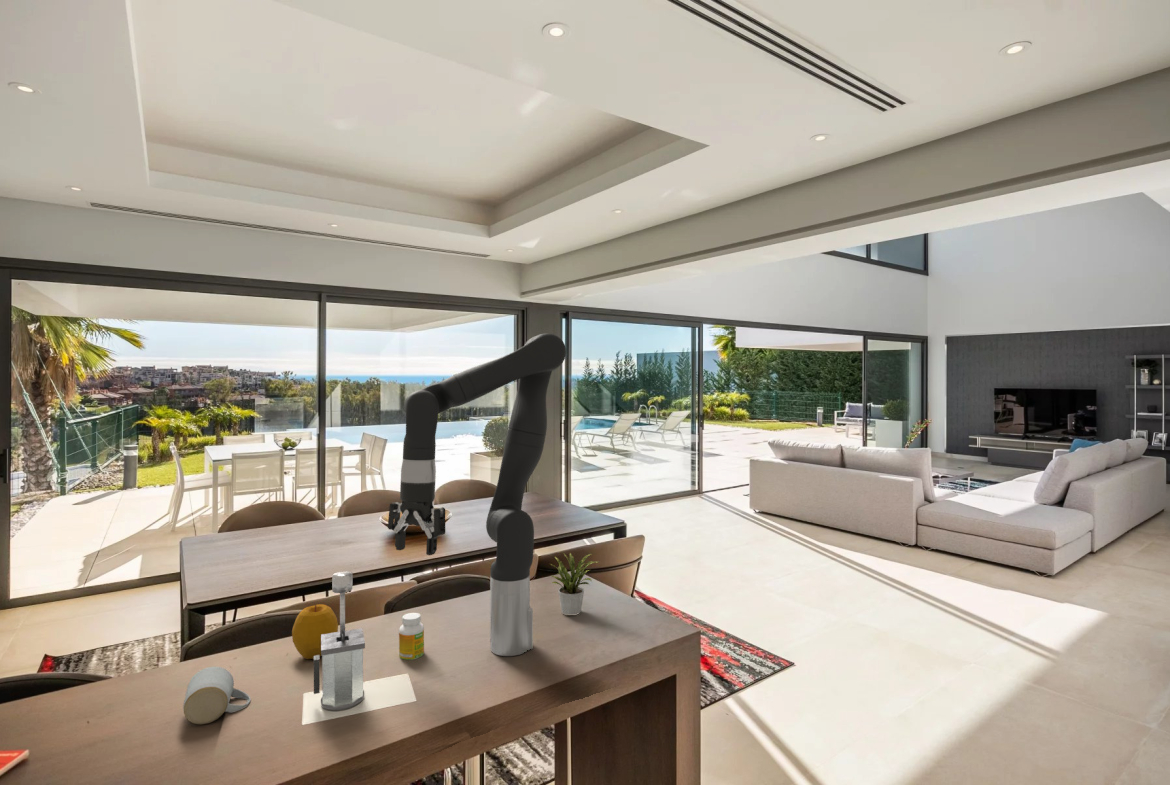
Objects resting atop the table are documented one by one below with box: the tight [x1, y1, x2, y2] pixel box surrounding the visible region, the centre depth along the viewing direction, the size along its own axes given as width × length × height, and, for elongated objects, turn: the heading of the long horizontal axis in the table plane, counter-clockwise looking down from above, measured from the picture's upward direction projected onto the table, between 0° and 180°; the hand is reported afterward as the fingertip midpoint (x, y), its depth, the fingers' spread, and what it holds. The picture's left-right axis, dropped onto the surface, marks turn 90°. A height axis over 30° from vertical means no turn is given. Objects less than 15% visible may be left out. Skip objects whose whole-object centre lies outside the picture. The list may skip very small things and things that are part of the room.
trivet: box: [301, 672, 417, 726], centre depth 116 cm, size 20×12×1 cm, turn 114°
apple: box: [291, 603, 339, 660], centre depth 136 cm, size 10×10×12 cm
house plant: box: [550, 552, 598, 614], centre depth 162 cm, size 14×14×16 cm
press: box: [313, 627, 366, 711], centre depth 115 cm, size 9×8×12 cm
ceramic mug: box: [182, 666, 252, 725], centre depth 112 cm, size 11×8×8 cm
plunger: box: [331, 570, 353, 641], centre depth 115 cm, size 5×5×14 cm
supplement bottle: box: [398, 612, 425, 661], centre depth 135 cm, size 5×5×10 cm
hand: (415, 552), depth 133 cm, fingers open, 8 cm apart
